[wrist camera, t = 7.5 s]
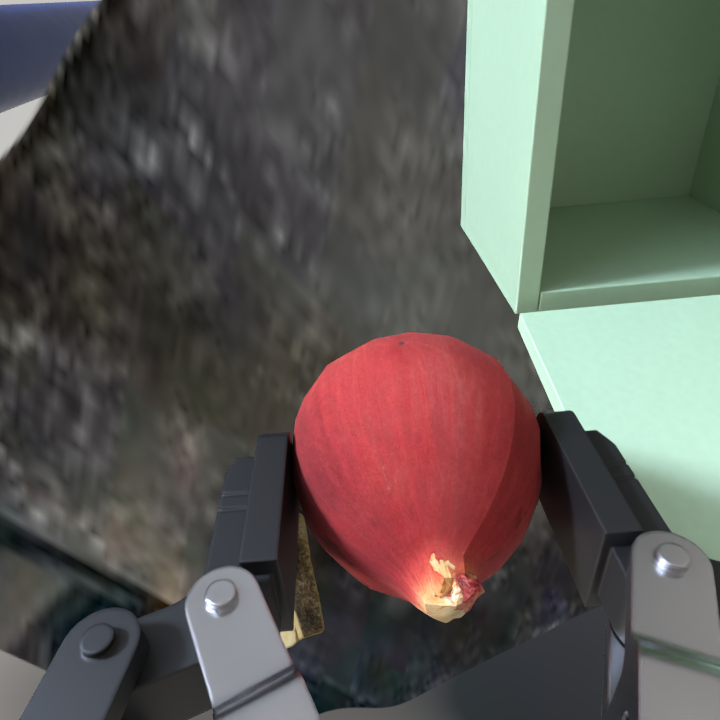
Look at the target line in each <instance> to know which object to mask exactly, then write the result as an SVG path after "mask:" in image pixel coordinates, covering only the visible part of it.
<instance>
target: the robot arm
mask: <svg viewBox="0 0 720 720" xmlns="http://www.w3.org/2000/svg"><path fill="white" fill-rule="evenodd" d="M536 419H537V422H538V425H539V428H540V450H541V473H542V485H541V490H540V495H539V499H540V502H541V504H542V506H543V509H544V511H545V513H546V516H547V518H548V521H549V523H550V525H551V528H552V530H553V532H554V535H555V537H556V540H557V542H558V544H559V547H560V549H561V551H562V554H563V556H564V559H565V561H566V563H567V566H568V568H569V570H570V573H571V575H572V577H573V580H574V582H575V585H576V587H577V589H578V592H579V594H580V596H581V599H582V601H583V604H584V606H585V607H596V606H603V607H604V609H605V612H606V614H607V616H608V618H609V619H608V623H607V626H606V633H605V655H604V677H603V700H602V717H601V720H720V561H717V560H713V559H710V558H708V557H707V555H706V554H705V553H704V552H703V551H702V550H701V549H700V548H699V547H698V546H697V545H696V544H694V543H693V542H691V541H690V540H688V539H686V538H684V537H682V536H680V535H678V534H675V533H672V532H671V531H670V529H669V528H668V526H667V524H666V523H665V521H664V520H663V518H662V517H661V515H660V514H659V512H658V510H657V509H656V507H655V506H654V504H653V503H652V501H651V500H650V498H649V496H648V495H647V493H646V492H645V490H644V489H643V487H642V485H641V484H640V482H639V481H638V479H635V475H634V473H633V471H632V470H631V468H630V467H629V465H626V460H625V459H624V457H623V456H622V454H621V453H620V451H619V450H618V448H617V446H616V445H615V444H614V443H613V442H612V441H610V440H609V439H608V438H606V437H605V436H604V435H603V434H601V433H600V432H599V431H597V430H590V431H585V430H584V428H583V427H582V425H581V423H580V422H579V420H578V418H577V416H576V415H575V413H574V412H573V411H571V410H567V411H555V412H542V413H539V414H538V415H537V418H536ZM299 506H300V501H299V498H298V495H297V492H296V489H295V486H294V483H293V464H292V439H291V435H290V432H285V433H273V434H261V435H258V438H257V444H256V450H255V457H248V458H237V459H236V461H235V462H234V464H233V465H232V466H231V468H230V469H229V470H228V472H227V473H226V475H225V478H224V483H223V487H222V492H221V497H220V502H219V507H218V512H217V516H216V521H215V526H214V531H213V536H212V541H211V545H210V550H209V555H208V560H207V565H206V569H205V572H204V574H203V576H202V577H200V578H199V579H198V580H197V581H196V582H195V583H194V584H193V586H192V587H191V589H190V590H189V592H188V594H187V596H186V597H184V598H183V599H182V600H180V601H178V602H177V603H175V604H173V605H171V606H168V607H166V608H163V609H161V610H158V611H156V612H153V613H150V614H148V615H145V616H143V617H140V618H137V617H136V616H135V615H134V614H133V613H132V612H130V611H129V610H126V609H124V608H107V609H103V610H100V611H97V612H95V613H93V614H91V615H89V616H87V617H86V618H84V619H83V620H81V621H80V622H79V623H78V624H77V625H76V626H75V627H73V628H72V630H71V631H70V632H69V633H68V634H67V636H66V637H65V639H64V641H63V642H62V644H61V646H60V648H59V649H58V651H57V653H56V655H55V657H54V658H53V660H52V662H51V664H50V666H49V667H48V669H47V671H46V673H45V675H44V676H43V678H42V680H41V682H40V684H39V685H38V687H37V689H36V691H35V692H34V694H33V696H32V698H31V700H30V702H29V704H28V705H27V707H26V709H25V710H24V712H23V714H22V716H21V718H20V719H19V720H188V719H190V718H192V717H194V716H197V715H199V714H201V713H204V712H205V711H208V710H210V709H213V719H214V720H321V718H320V716H319V713H318V711H317V709H316V707H315V704H314V702H313V700H312V698H311V695H310V693H309V691H308V688H307V686H306V684H305V682H304V680H303V678H302V676H301V674H300V672H299V670H298V669H297V668H295V667H294V665H293V663H292V660H291V658H290V656H289V654H288V651H287V649H286V647H285V644H284V642H283V640H282V637H281V635H280V632H284V631H293V628H294V607H295V587H296V567H297V547H298V526H299Z"/></svg>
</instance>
